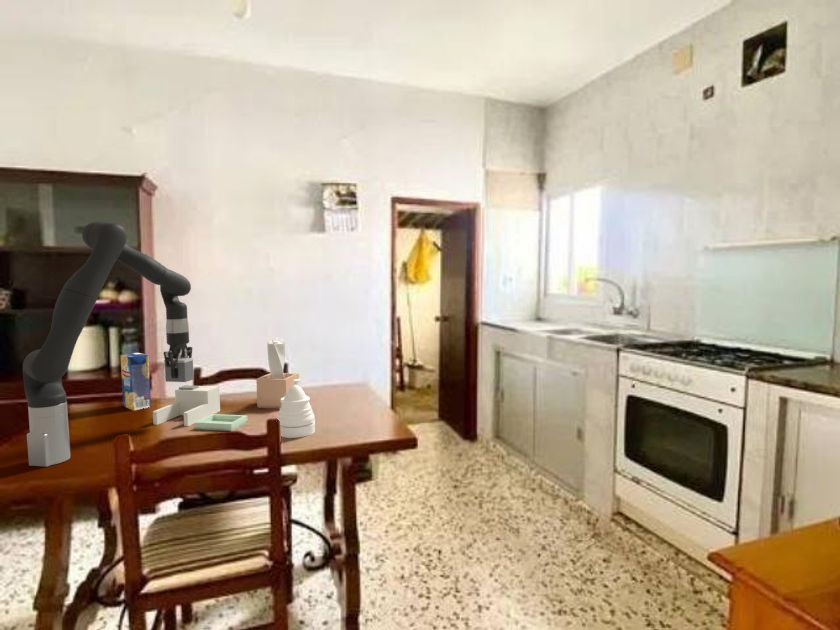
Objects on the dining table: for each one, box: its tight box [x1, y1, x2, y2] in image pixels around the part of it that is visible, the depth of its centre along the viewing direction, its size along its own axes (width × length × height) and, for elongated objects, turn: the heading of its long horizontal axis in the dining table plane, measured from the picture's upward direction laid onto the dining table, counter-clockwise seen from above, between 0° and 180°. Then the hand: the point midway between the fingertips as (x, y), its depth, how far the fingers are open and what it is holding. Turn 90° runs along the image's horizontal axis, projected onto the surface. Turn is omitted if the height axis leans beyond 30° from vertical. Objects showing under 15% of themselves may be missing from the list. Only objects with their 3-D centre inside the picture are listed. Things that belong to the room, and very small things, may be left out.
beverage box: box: [120, 352, 152, 411], centre depth 212 cm, size 7×11×22 cm, turn 49°
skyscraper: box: [267, 337, 289, 379], centre depth 214 cm, size 8×8×28 cm
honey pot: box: [276, 378, 316, 439], centre depth 176 cm, size 13×13×18 cm
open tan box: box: [255, 372, 300, 409], centre depth 214 cm, size 13×13×12 cm
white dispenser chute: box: [152, 385, 221, 427], centre depth 195 cm, size 21×14×11 cm, turn 170°
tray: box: [194, 413, 248, 432], centre depth 184 cm, size 11×14×2 cm
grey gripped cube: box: [163, 357, 195, 383], centre depth 188 cm, size 5×8×8 cm, turn 81°
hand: (179, 376), depth 188 cm, fingers closed on grey gripped cube, 5 cm apart
